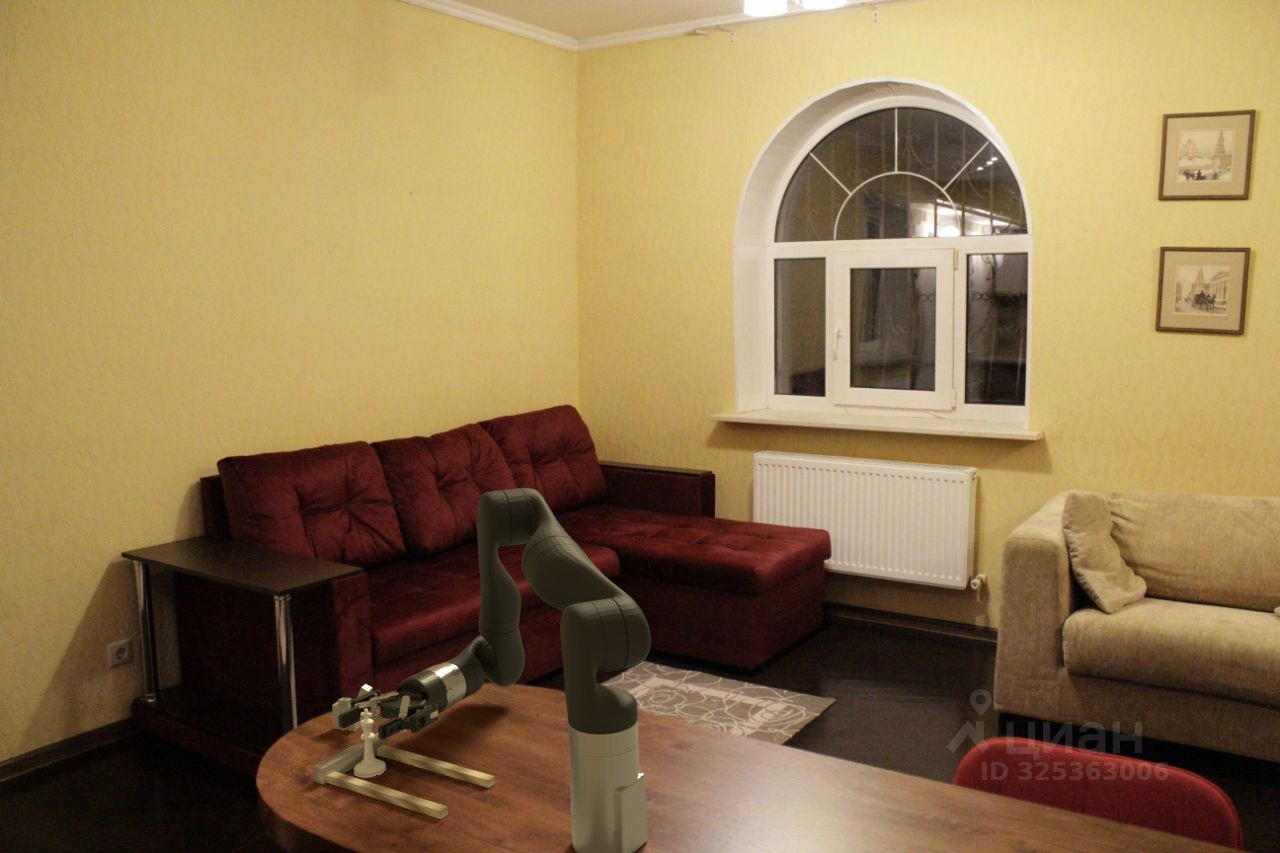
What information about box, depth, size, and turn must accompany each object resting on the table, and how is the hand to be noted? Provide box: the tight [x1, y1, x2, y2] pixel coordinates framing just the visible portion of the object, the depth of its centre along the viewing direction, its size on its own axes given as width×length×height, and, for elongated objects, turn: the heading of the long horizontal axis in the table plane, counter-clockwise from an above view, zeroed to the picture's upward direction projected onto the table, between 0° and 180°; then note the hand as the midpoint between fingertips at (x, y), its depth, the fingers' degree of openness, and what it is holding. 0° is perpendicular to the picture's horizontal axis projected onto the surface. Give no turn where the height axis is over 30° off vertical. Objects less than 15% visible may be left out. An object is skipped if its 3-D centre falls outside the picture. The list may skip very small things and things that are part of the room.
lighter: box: [332, 683, 373, 732], centre depth 178 cm, size 7×2×8 cm, turn 74°
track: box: [312, 732, 496, 820], centre depth 159 cm, size 25×14×2 cm, turn 58°
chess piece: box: [353, 709, 387, 779], centre depth 163 cm, size 5×5×10 cm
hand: (359, 727), depth 161 cm, fingers open, 8 cm apart
